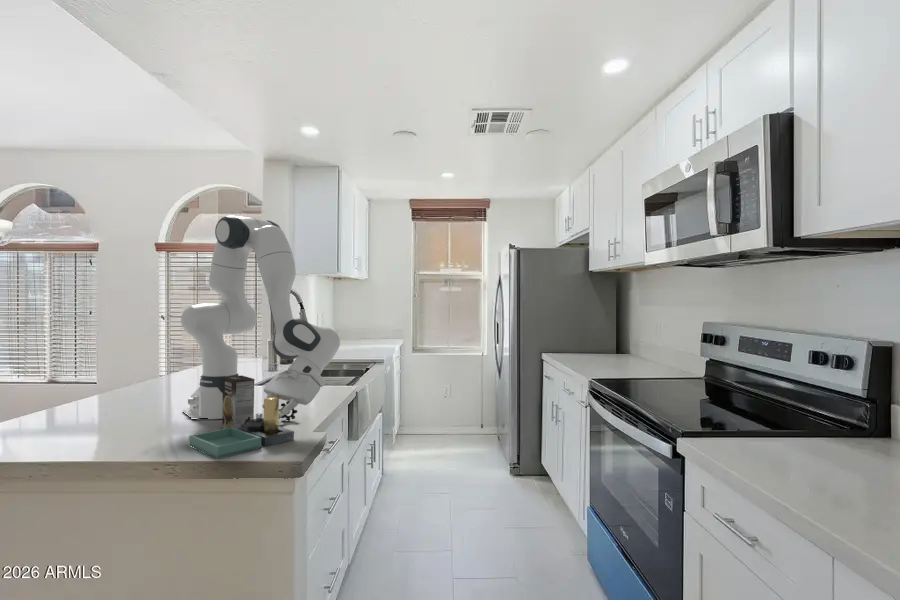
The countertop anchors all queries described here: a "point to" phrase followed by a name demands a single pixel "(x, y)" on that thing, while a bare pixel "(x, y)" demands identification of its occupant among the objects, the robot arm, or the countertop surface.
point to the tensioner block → (266, 440)
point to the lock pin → (271, 415)
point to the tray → (225, 442)
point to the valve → (288, 413)
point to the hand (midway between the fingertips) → (273, 410)
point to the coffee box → (237, 401)
